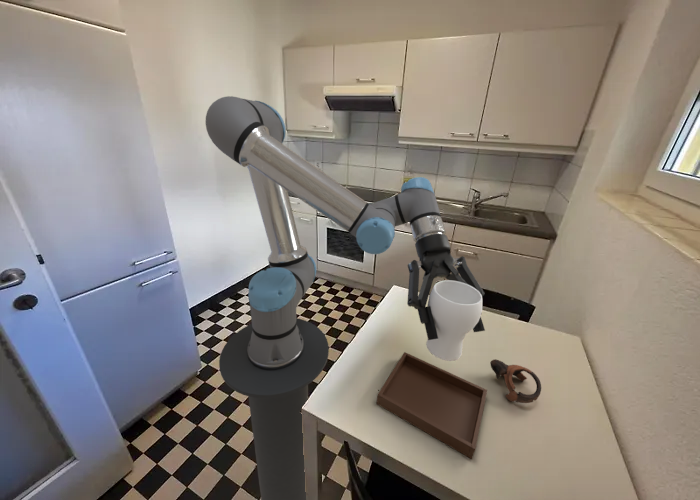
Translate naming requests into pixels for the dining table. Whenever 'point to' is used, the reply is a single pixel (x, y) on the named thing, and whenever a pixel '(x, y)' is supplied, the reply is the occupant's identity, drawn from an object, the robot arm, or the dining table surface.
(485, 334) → the dining table surface
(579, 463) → the dining table surface
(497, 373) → the brown curled loop
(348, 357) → the dining table surface
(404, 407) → the tray
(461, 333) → the cup
